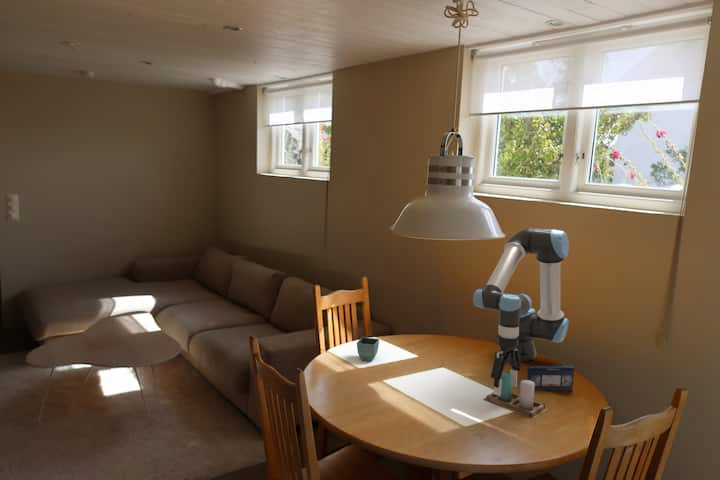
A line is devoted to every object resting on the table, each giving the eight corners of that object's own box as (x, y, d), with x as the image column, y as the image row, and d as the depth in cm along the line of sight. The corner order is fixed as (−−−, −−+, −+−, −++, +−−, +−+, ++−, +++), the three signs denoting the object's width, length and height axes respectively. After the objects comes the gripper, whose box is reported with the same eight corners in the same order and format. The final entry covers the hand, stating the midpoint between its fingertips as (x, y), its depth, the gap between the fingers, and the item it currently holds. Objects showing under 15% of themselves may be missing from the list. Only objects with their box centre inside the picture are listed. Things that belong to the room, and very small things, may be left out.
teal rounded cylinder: (502, 396, 204) (503, 371, 202) (513, 400, 200) (515, 375, 199) (495, 399, 200) (496, 375, 199) (506, 404, 197) (508, 379, 195)
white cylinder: (523, 403, 197) (524, 378, 196) (535, 408, 194) (537, 382, 192) (516, 407, 194) (518, 382, 192) (528, 412, 190) (530, 386, 189)
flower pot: (356, 361, 240) (356, 342, 239) (361, 354, 248) (361, 336, 247) (374, 363, 238) (374, 345, 236) (379, 356, 246) (379, 338, 245)
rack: (499, 392, 209) (499, 386, 208) (548, 410, 194) (549, 404, 193) (482, 401, 200) (482, 395, 200) (532, 421, 186) (533, 415, 185)
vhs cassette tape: (528, 391, 211) (529, 368, 209) (525, 388, 214) (527, 365, 212) (573, 391, 211) (575, 368, 209) (570, 388, 214) (572, 365, 212)
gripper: (515, 326, 207) (512, 378, 210) (482, 340, 191) (479, 396, 194) (532, 331, 202) (529, 384, 205) (500, 345, 186) (497, 402, 189)
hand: (505, 390), depth 200 cm, fingers open, 11 cm apart
